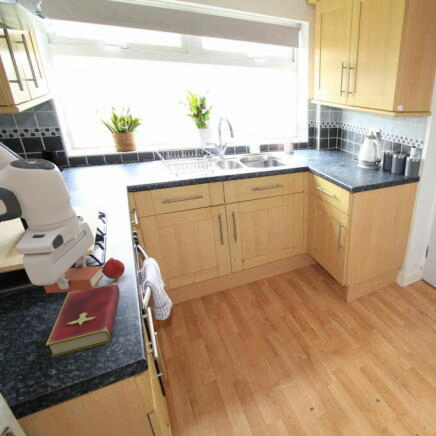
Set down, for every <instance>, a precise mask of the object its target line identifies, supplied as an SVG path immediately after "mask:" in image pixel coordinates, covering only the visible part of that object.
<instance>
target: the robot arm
mask: <svg viewBox="0 0 436 436" xmlns="http://www.w3.org/2000/svg"><path fill="white" fill-rule="evenodd" d="M16 219H24V221H25V222H26V224H27V228H26V229H25V232H24V234H23V236H22V237H21V239H20V240H19V242H18V243H17V244H16V246H15V249H16V252H17V253H18V254H19V255H23V257H22V264H23V267H24V270H25V272H26V274H27V277H28V279H29V281H30V283H31V284H33V285H34V286H37V287H41V286H43V285H52V284H54V283H55V282H56V283H57V284H58V285H59V288H60V289H67V288H68V287H69V286H70V285H71V283H70V279H65V278H64V277H65V274H64V273H65V272H66V271H67V270H68V269H69V268H72V266H74V268H81V267H88V266H87V263H86V262H87V252H88V251H89V249H90V248H92V246H94V245H95V237H94V234H93V232H92V230H91V228H90V225H89V224H88V222H86V221H85V220H84V217H83V216H81V215H80V214H77V213H76V210H75V209H74V207H73V206H72V203H71V194H70V191H69V188H68V185H67V183H66V180H65V178H64V175H63V174H62V172H61V170H60V169H59V168H58V166H57V165H56V164H55V163H54V162H52V161H50V160H46V159H42V158H23V157H22V156H21V155H19V154H17V153H16V152H15V151H13V150H12V149H11V148H10V147H8V146H6V144H5V143H3V142H2V141H0V223H4V222H8V221H9V222H10V221H12V220H16ZM74 264H75V265H74ZM43 287H44V286H43Z"/></svg>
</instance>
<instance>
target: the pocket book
mask: <svg viewBox="0 0 436 436" xmlns="http://www.w3.org/2000/svg"><path fill="white" fill-rule="evenodd" d="M101 267H102V266H101V265H98V266H87V267H81V268H75V267H70V268H69V269H68V270H67V271H66V272H65V273H64V274H65V277H64V278H65V279H70V283H71V285H70V286H69V287H68V288H67V289H60V288H59V285H58V284H57V283H56V282H55V283H54V284H52V285H43V288H44V290H45V293H46V294H54V293H55V294H56V293H68V292H73V291H82V290H93V288H94V287H97V285H98V283H99V282H100V281H101V280H102V279H103V277H104V276H105V275H104V274H103V270H102V269H101Z"/></svg>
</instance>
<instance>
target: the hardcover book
mask: <svg viewBox="0 0 436 436" xmlns="http://www.w3.org/2000/svg"><path fill="white" fill-rule="evenodd" d="M120 293H121V289H120V286H119V284H118V283H117V282H113V283H108V284H103V285H98V286H95V287H94V288H93V290H82V291H69V292H67V294H66V296H65V298H64V300H63V304H62V306H61V308H60V310H59V313H58V315H57V318H56V320H55V322H54V325H53V327H52V330H51V332H50V334H49V337H48V339H47V340H46V344H45V347H49V348H50V350H51V354H50V358H55V357H59V356H62V355H68V354H71V353H75V352H78V351H82V350H85V349H90V348H94V347H97V346H102V345H106V344H109V343H111V339H112V335H113V334H112V333H113V330H114V324H115V319H116V313H117V308H118V303H119V297H120Z"/></svg>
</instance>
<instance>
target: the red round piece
mask: <svg viewBox="0 0 436 436" xmlns="http://www.w3.org/2000/svg"><path fill="white" fill-rule="evenodd" d="M125 270H126V269H125V264H124V263H123V262H122V261H120V260H119V259H115V258H114V257H112V256H111V257H110V258H109V259H108V260H107V261H106V262H105V263H104V265H103V266H102V274H103V275H104V276H105V277H106V278H108V279H111V280H119V279H120V277H122V276H123V274H124V273H125Z"/></svg>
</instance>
